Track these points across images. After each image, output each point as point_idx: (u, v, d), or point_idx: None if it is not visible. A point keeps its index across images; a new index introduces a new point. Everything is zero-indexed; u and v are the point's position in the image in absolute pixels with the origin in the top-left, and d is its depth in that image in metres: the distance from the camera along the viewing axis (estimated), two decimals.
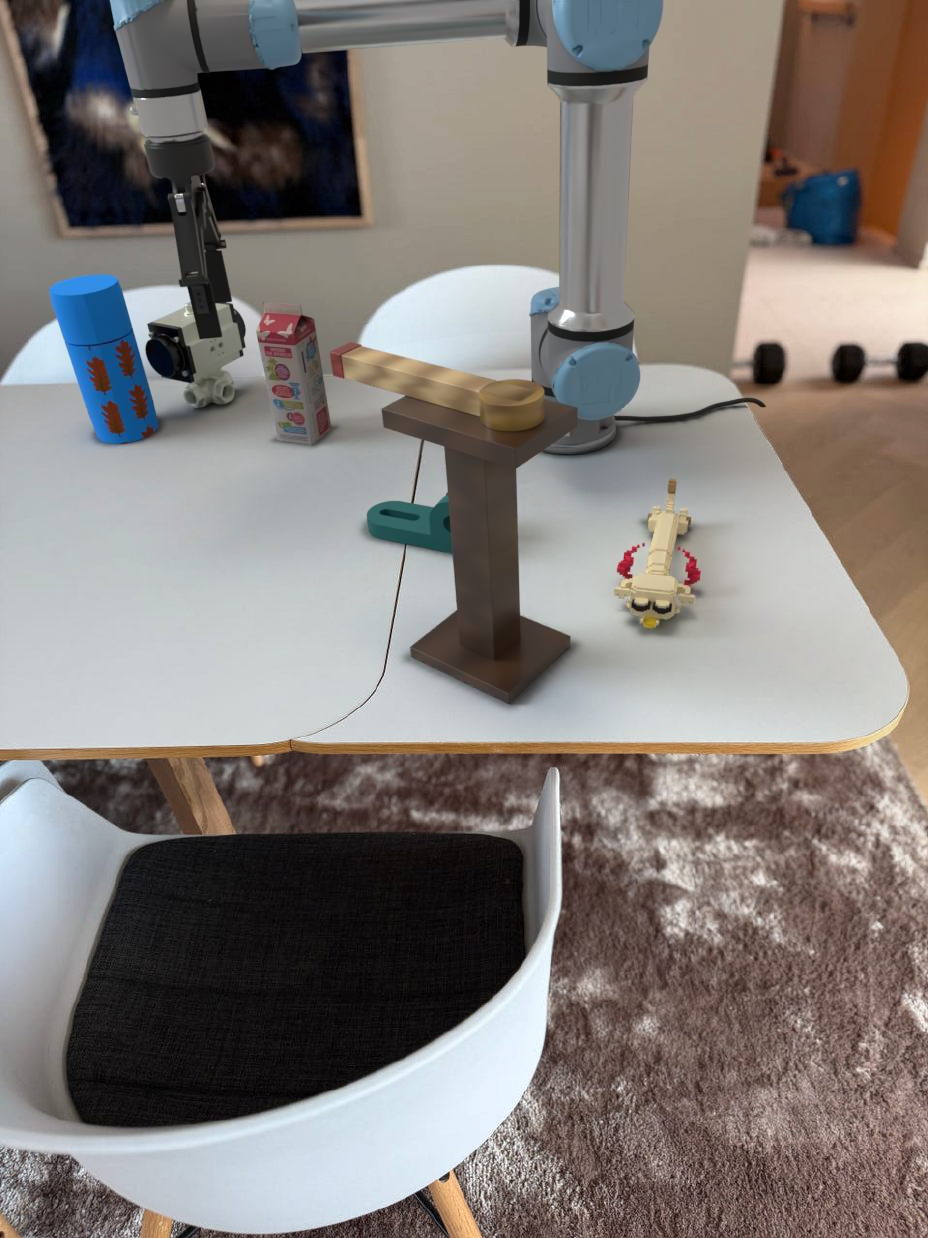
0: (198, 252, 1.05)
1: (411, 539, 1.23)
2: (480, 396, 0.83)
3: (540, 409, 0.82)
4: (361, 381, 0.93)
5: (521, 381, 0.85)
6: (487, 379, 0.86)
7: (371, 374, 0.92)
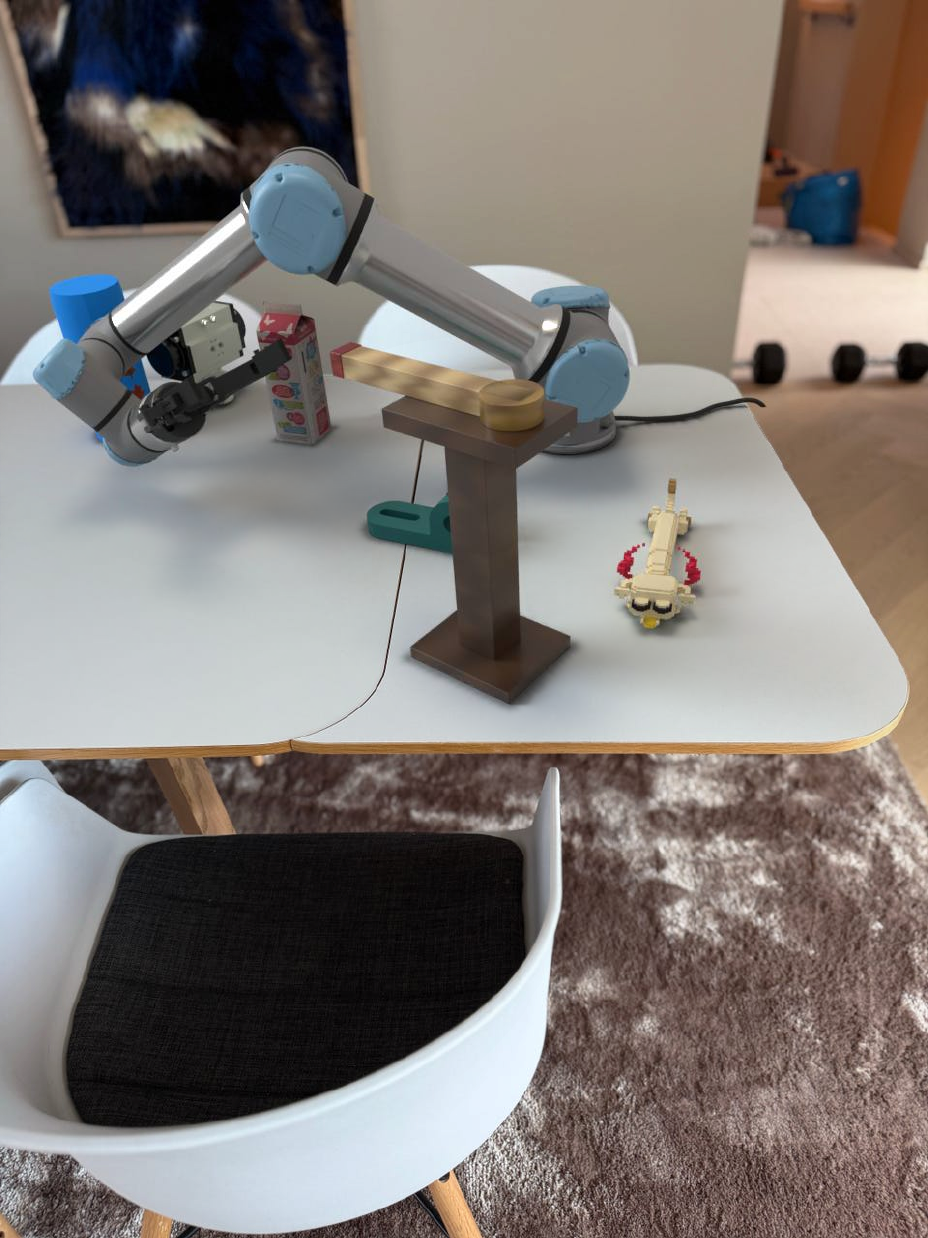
0: (140, 410, 1.10)
1: (411, 539, 1.23)
2: (480, 396, 0.83)
3: (540, 409, 0.82)
4: (361, 381, 0.93)
5: (521, 381, 0.85)
6: (487, 379, 0.86)
7: (371, 374, 0.92)
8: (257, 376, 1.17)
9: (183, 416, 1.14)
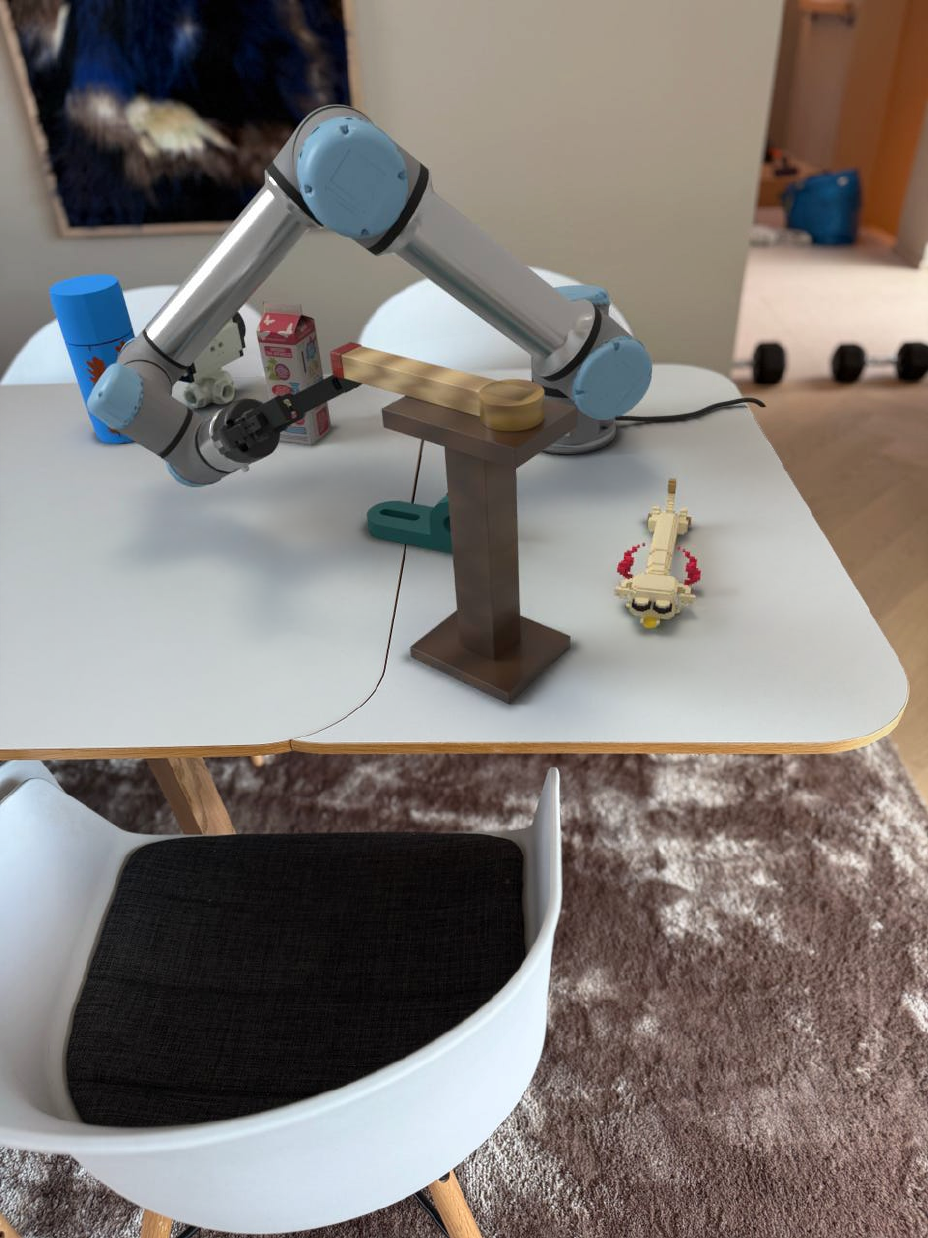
0: (218, 431, 1.01)
1: (411, 539, 1.23)
2: (480, 396, 0.83)
3: (540, 409, 0.82)
4: (361, 381, 0.93)
5: (521, 381, 0.85)
6: (487, 379, 0.86)
7: (371, 374, 0.92)
8: (339, 392, 1.09)
9: (261, 436, 1.06)
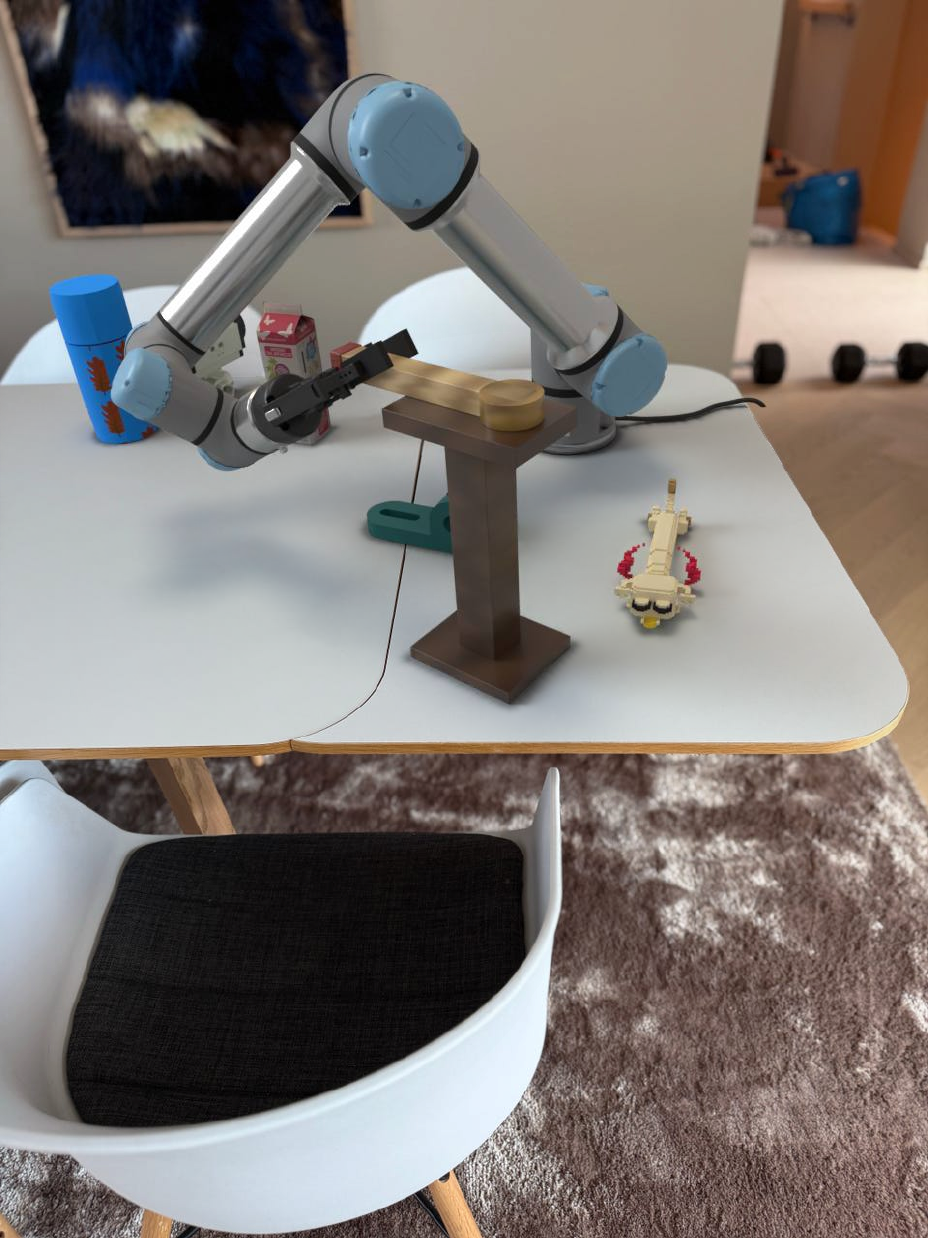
0: (298, 387, 0.94)
1: (411, 539, 1.23)
2: (480, 396, 0.83)
3: (540, 409, 0.82)
4: None
5: (521, 381, 0.85)
6: (487, 379, 0.86)
7: None
8: None
9: (322, 404, 0.99)
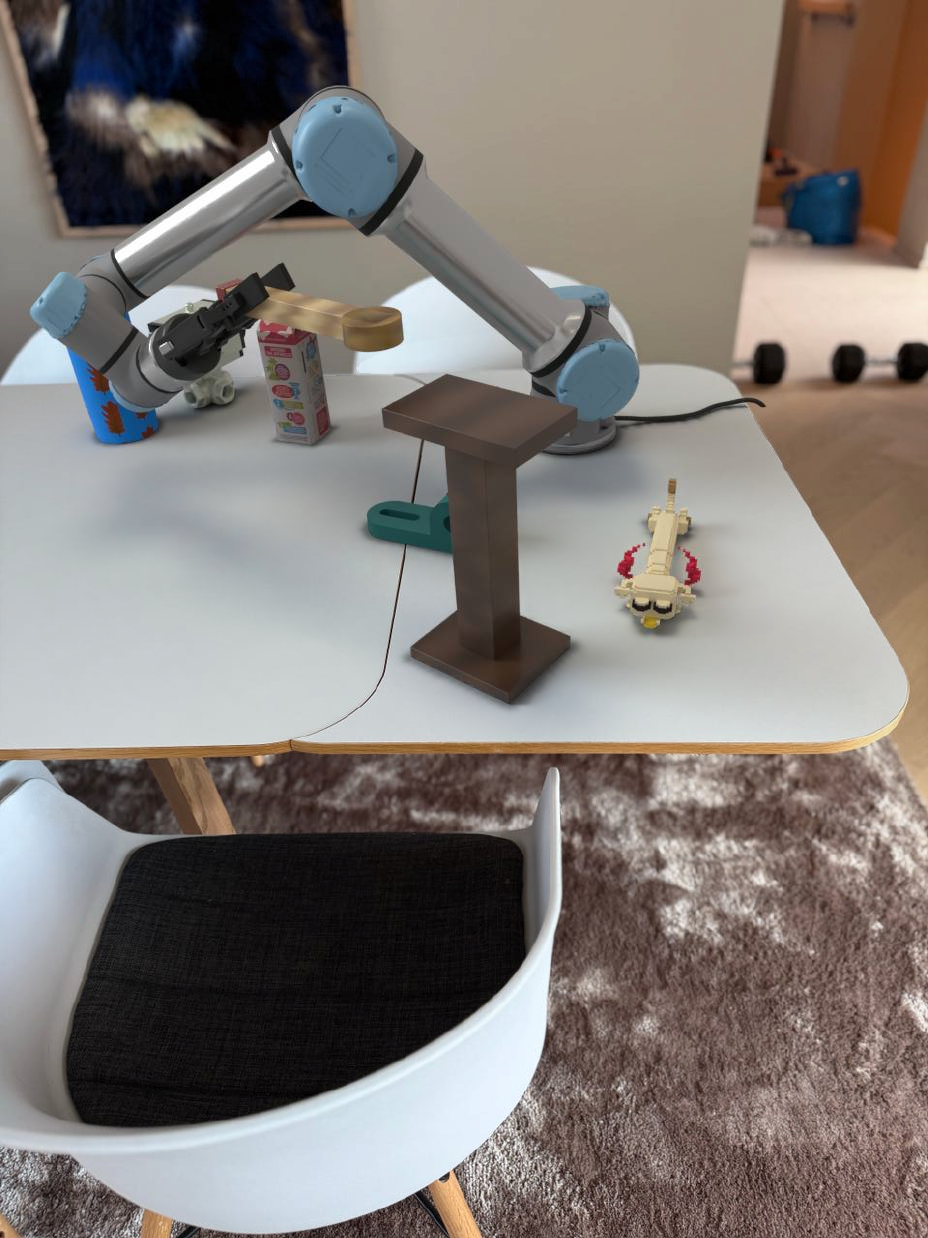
0: (185, 320, 1.00)
1: (411, 539, 1.23)
2: (341, 320, 0.89)
3: (397, 331, 0.89)
4: None
5: (383, 307, 0.91)
6: (352, 306, 0.92)
7: None
8: None
9: (214, 339, 1.05)
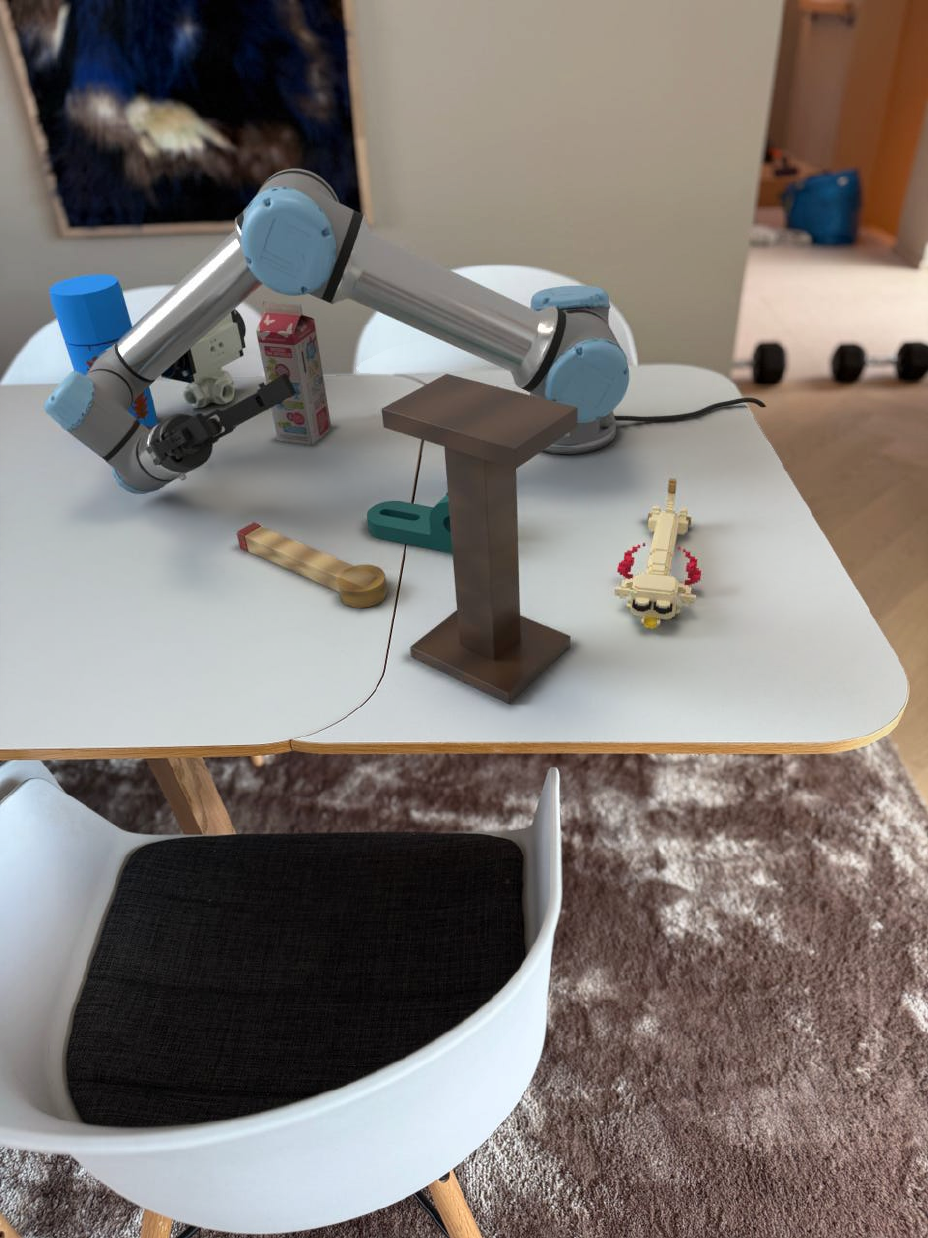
0: (150, 444, 1.12)
1: (411, 539, 1.23)
2: (338, 581, 1.14)
3: (381, 591, 1.13)
4: (260, 555, 1.24)
5: (370, 567, 1.16)
6: (346, 564, 1.17)
7: (266, 552, 1.22)
8: (262, 409, 1.20)
9: (191, 448, 1.17)
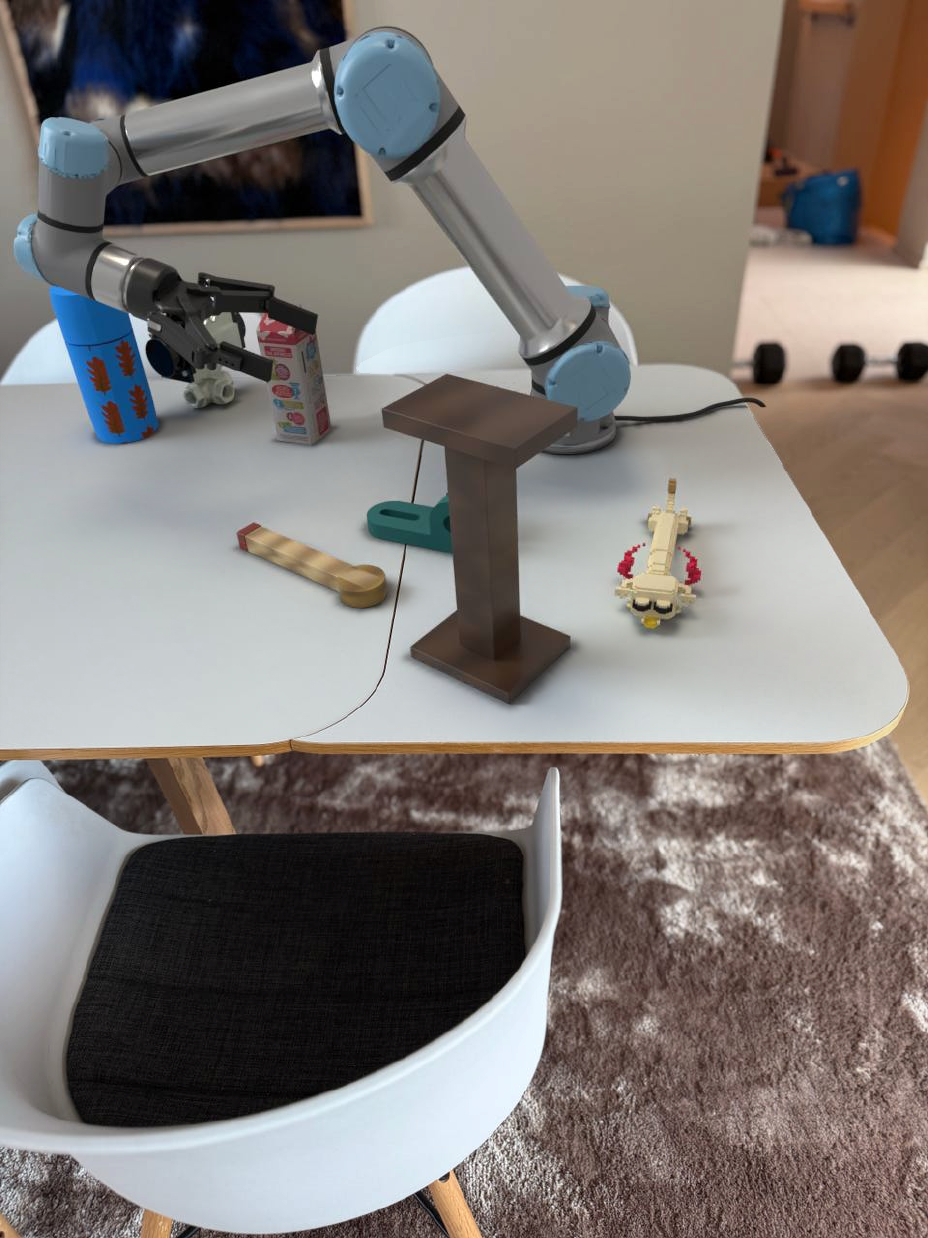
0: (182, 338, 1.08)
1: (411, 539, 1.23)
2: (338, 581, 1.14)
3: (381, 591, 1.13)
4: (260, 555, 1.24)
5: (370, 567, 1.16)
6: (346, 564, 1.17)
7: (266, 552, 1.22)
8: (260, 311, 1.20)
9: None
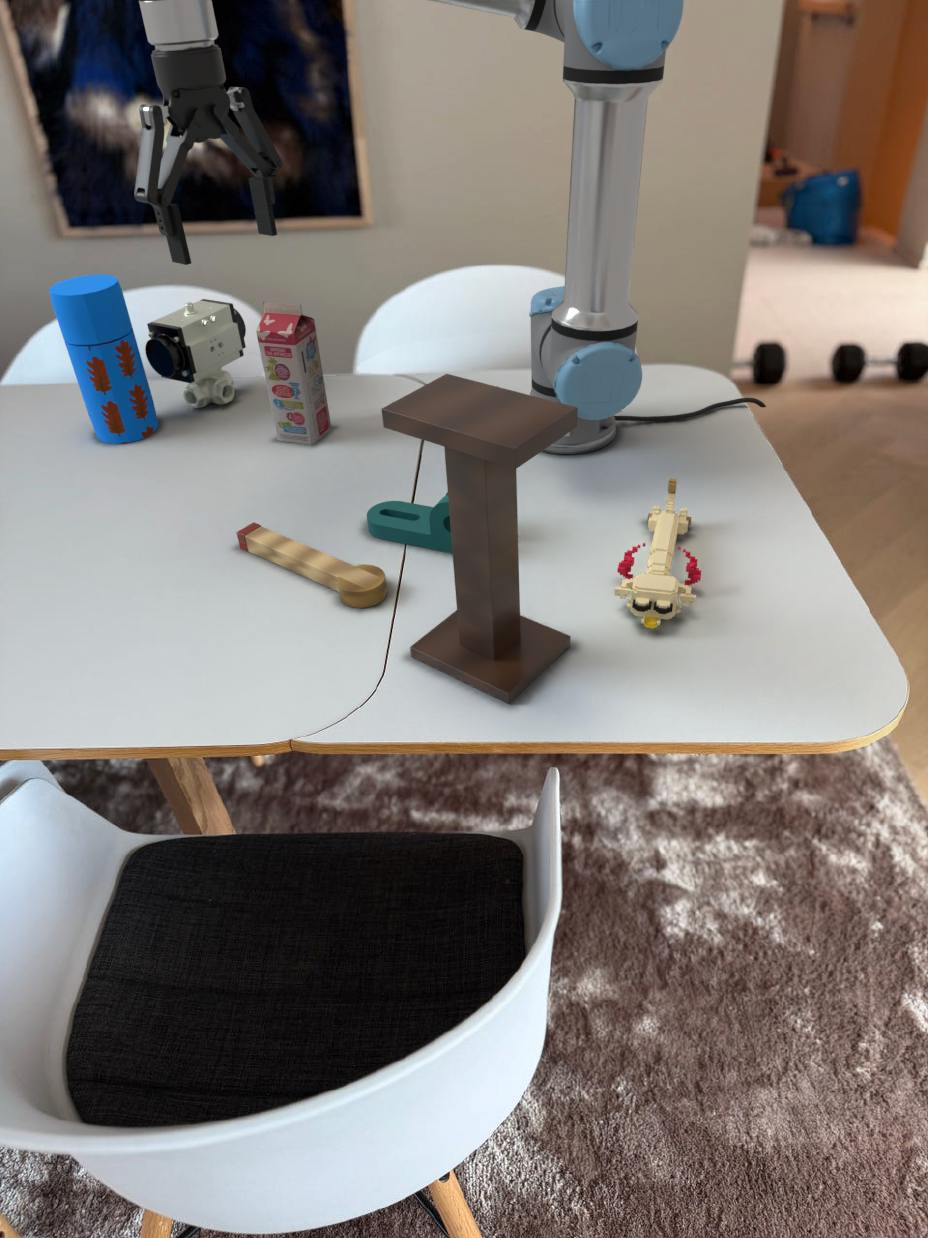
0: (150, 170, 1.00)
1: (411, 539, 1.23)
2: (338, 581, 1.14)
3: (381, 591, 1.13)
4: (260, 555, 1.24)
5: (370, 567, 1.16)
6: (346, 564, 1.17)
7: (266, 552, 1.22)
8: (249, 168, 1.12)
9: None
